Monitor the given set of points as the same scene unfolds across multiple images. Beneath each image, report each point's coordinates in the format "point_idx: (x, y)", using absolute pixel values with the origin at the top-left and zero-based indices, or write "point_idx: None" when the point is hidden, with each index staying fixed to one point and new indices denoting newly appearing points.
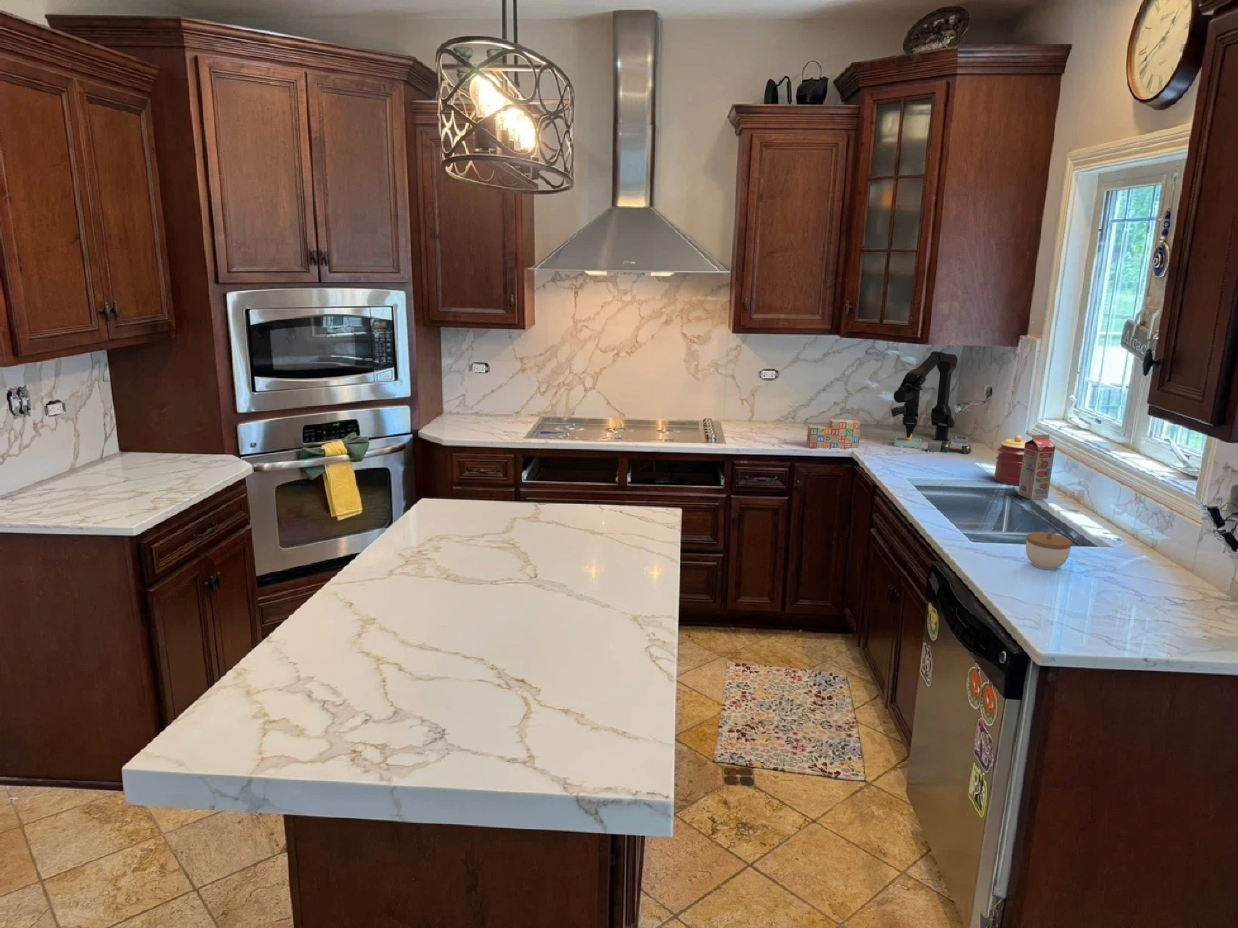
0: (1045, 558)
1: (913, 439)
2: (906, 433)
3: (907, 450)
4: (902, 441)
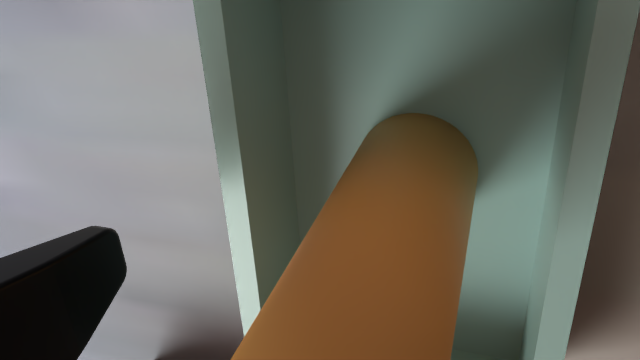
0: None
1: (534, 336)
2: (293, 273)
3: (77, 137)
4: (220, 91)
